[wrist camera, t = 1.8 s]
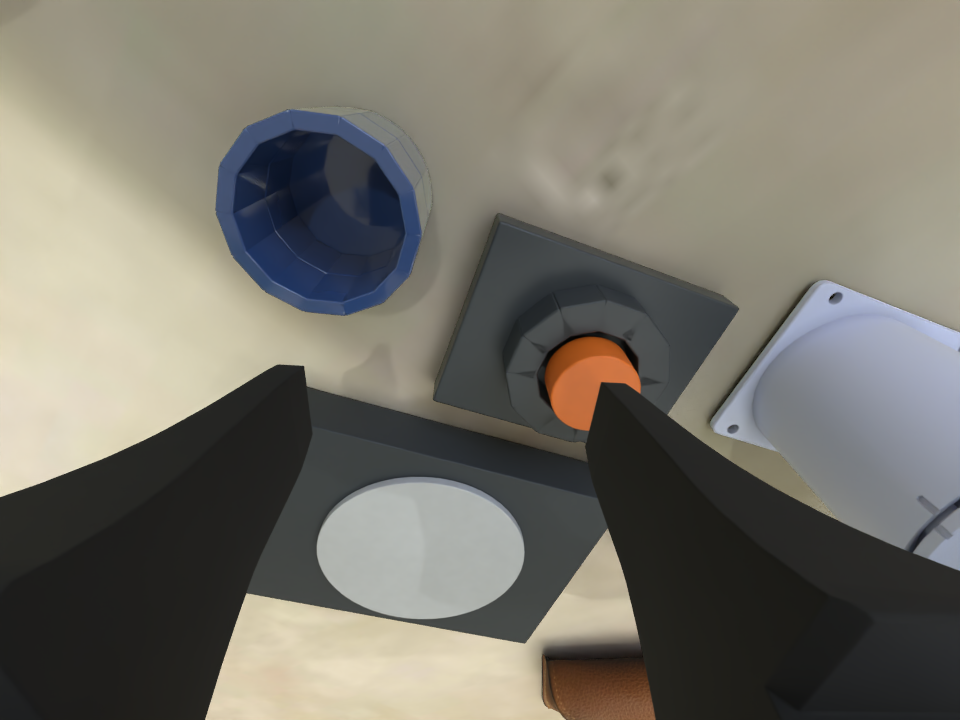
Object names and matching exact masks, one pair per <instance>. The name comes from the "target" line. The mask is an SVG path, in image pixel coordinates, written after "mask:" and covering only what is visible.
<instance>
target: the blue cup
mask: <svg viewBox="0 0 960 720" xmlns="http://www.w3.org/2000/svg"><path fill="white" fill-rule="evenodd" d="M431 207H432V187H431V181H430V176H429V172H428V169H427V166H426V163H425V161H424V159H423V157H422V155H421V153H420V151H419V149H418V148H417V146H416V145H415V144H414V142H413V141H412V140H411V138H410V137H409V136H408V135H407V134H406V133H405V132H404V131H403V130H402V129H401V128H399V127H398V126H397V125H396V124H395V123H393V122H392V121H390V120H388V119H387V118H385V117H383V116H381V115H379V114H377V113H375V112H373V111H369V110H364V109H359V108H347V107H340V106H331V107H315V108H299V109H287V110H285V111H282V112H280V113H278V114H275V115H273V116H270V117H268V118H265V119H263V120H261V121H258V122H256V123H253V124H251V125H248V126H247V127H246V128H244V129H243V131H242V132H241V134H240V135H239V136H238V138H237V139H236V141H235V142H234V144H233V145H232V147H231V148H230V149H229V151H228V152H227V154H226V155H225V157H224V158H223V160H222V161H221V162H220V166H219V170H218V183H217V195H216V208H215V210H216V215H217V218H218V220H219V223H220V226H221V228H222V231H223V234H224V236H225V239H226V242H227V244H228V247H229V250H230V252H231V255H232V256H233V258H234V259H235V260H236V261H237V262H238V263H239V265H240V266H241V267H242V268H243V269H244V270H245V271H246V272H247V273H248V274H249V276H250V277H251V278H252V279H253V280H254V281H255V282H256V283H257V284H258V285H259V286H260V288H261V289H262V290H265V292H266V293H268V294H270V295H272V296H274V297H276V298H278V299H280V300H282V301H284V302H286V303H288V304H290V305H292V306H293V307H295V308H297V309H299V310H301V311H304V312H311V313H321V314H331V315H341V316H345V315H350V314H353V313H356V312H359V311H362V310H365V309H368V308H371V307H374V306H377V305H380V304H382V303H383V302H385V301H386V300H387V299H388V298H389V297H390V296H391V295H392V294H393V293H394V292H395V291H396V290H397V289H398V288H399V287H400V286H401V285H402V283H403V282H404V281H405V280H406V279H407V278H408V277H409V276H410V274H411V272H412V269H413V266H414V262H415V259H416V256H417V253H418V250H419V247H420V244H421V240H422V237H423V234H424V231H425V227H426V224H427V221H428V218H429V214H430V211H431Z"/></svg>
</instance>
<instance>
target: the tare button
mask: <svg viewBox="0 0 960 720" xmlns="http://www.w3.org/2000/svg"><path fill="white" fill-rule="evenodd" d="M601 382H610V383H626V384H627V385H629V386H630V387H632V388H633V389H634V390H636V391H637V392H638V393H640V392H641V383H640V379H639V376H638V374H637V372H636V370H635V369H634V367H633V366H632V364H631V362H630V361H629V359H628V358H627V356H626V354H625V353H624V351H623V350H622V349H621V348H620V347H619V346H618V345H617V344H616V343H614V342H612V341H610V340H608V339H605V338H601V337H582V338H578V339H575V340H572V341H570V342H568V343H566V344H565V345H563V346H562V347H560V348H559V349H558V350H557V351H556V352H555V353H554V354H553V356H552V357H551V358H550V360H549V362H548V364H547V367H546V370H545V384H546V388H547V392H548V395H549V399H550V402H551V406H552V409H553V411H554V413H555V415H556V416H557V417H558V418H559V419H560V420H561V421H562V422H563V423H565V424H566V425H568V426H570V427H572V428H575V429H579V430H585V431H589V429H590V425H591V421H592V417H593V413H594V409H595V405H596V401H597V397H598V393H599V388H600V384H601Z"/></svg>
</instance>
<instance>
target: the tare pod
mask: <svg viewBox="0 0 960 720" xmlns="http://www.w3.org/2000/svg"><path fill="white" fill-rule="evenodd" d="M738 310H739V308H738V307H737V306H736V305H734V304H733V303H732V302H731V301H729V300H728V299H727V298H725V297H724V296H723V295H720V294H718V293H715V292H712V291H709V290H707V289H704V288H701V287H699V286H696V285H693V284H690V283H688V282H685V281H682V280H680V279H677V278H674V277H671V276H669V275H666V274H663V273H661V272H658V271H655V270H652V269H650V268H647V267H644V266H642V265H639V264H636V263H633V262H631V261H628V260H625V259H623V258H620V257H617V256H614V255H612V254H609V253H606V252H604V251H601V250H598V249H595V248H593V247H590V246H587V245H585V244H582V243H579V242H576V241H574V240H571V239H568V238H566V237H563V236H560V235H557V234H555V233H552V232H549V231H547V230H544V229H541V228H538V227H536V226H533V225H530V224H528V223H525V222H522V221H519V220H517V219H514V218H511V217H509V216H506V215H503V214H500V213H498V214H497V215H496V218H495V221H494V223H493V226H492V229H491V232H490V234H489V237H488V240H487V242H486V245H485V248H484V251H483V253H482V256H481V259H480V261H479V264H478V267H477V270H476V272H475V275H474V278H473V281H472V283H471V286H470V289H469V291H468V294H467V297H466V300H465V302H464V305H463V308H462V310H461V313H460V316H459V319H458V321H457V324H456V327H455V329H454V332H453V335H452V338H451V340H450V343H449V346H448V348H447V351H446V354H445V357H444V359H443V362H442V365H441V367H440V370H439V373H438V376H437V378H436V381H435V385H434V394H433V400H434V401H436V402H440V403H444V404H447V405H451V406H454V407H458V408H462V409H465V410H469V411H472V412H476V413H480V414H483V415H487V416H490V417H494V418H498V419H501V420H505V421H508V422H512V423H516V424H519V425H523V426H526V427H530V428H533V429H534V430H535V431H537V432H538V433H541V434H544V435H548V436H551V437H555V438H559V439H562V440H566V441H569V442H579V441H580V442H584V443H586V442H587V437H588V433H589V431H585V430H579V429H575V428H572V427H570V426H568V425H566V424H565V423H563V422H562V421H561V420H560V419H559V418H558V417H557V416H556V415H555V413H554V411H553V409H552V406H551V402H550V399H549V395H548V392H547V388H546V384H545V370H546V367H547V364H548V362H549V360H550V358H551V357H552V356H553V354H554V353H555V352H556V351H557V350H558V349H559V348H560V347H562V346H563V345H565V344H566V343H568V342H570V341H572V340H575V339H578V338H582V337H601V338H605V339H608V340H610V341H612V342H614V343H616V344H617V345H618V346H619V347H620V348H621V349H622V350H623V351H624V353H625V354H626V356H627V358H628V359H629V361H630V362H631V364H632V366H633V367H634V369H635V370H636V372H637V374H638V376H639V379H640V383H641V392H640V394H641V395H642V396H644V397H645V398H646V399H647V400H649V401H650V402H651V403H652V404H654V405H655V406H656V407H658V408H659V409H660V410H661V411H663V412H664V413H665V414H666V415H667V414H668V412H669V411H670V410H671V408H672V407H673V405H674V404H675V402H676V401H677V399H678V398H679V396H680V395H681V394H682V392H683V391H684V389H685V388H686V386H687V385H688V383H689V382H690V380H691V379H692V377H693V376H694V375H695V373H696V372H697V370H698V369H699V367H700V366H701V364H702V363H703V361H704V360H705V359H706V357H707V356H708V354H709V353H710V351H711V350H712V348H713V347H714V345H715V344H716V342H717V341H718V340H719V338H720V337H721V335H722V334H723V332H724V331H725V329H726V328H727V326H728V325H729V323H730V322H731V321H732V319H733V318H734V316H735V315H736V313H737V312H738Z"/></svg>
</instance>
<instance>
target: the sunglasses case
mask: <svg viewBox="0 0 960 720" xmlns="http://www.w3.org/2000/svg"><path fill="white" fill-rule="evenodd" d="M542 685H543V702H544V705H545V706H546V707H548V709H553V710H556V711H558V712H559V713H561V715H562V716H563V717H564V718H565V719H566V720H656V719H655V714H654V709H653V703H652V698H651V693H650V688H649V682H648V677H647V672H646V667H645V663H644V658H618V659H598V660H571V661H570V660H554V661H550V659H549V657H547V656H545V655H543V656H542Z"/></svg>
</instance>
